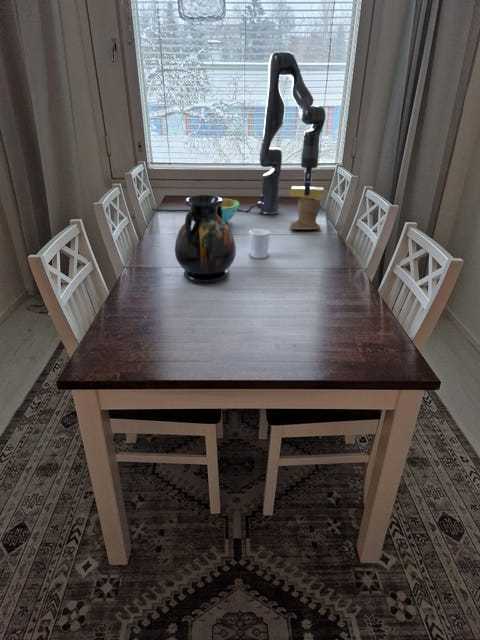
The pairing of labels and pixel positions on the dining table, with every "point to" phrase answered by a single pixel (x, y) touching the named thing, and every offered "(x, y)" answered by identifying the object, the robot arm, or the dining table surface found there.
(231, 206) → the bowl
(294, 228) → the stone cup
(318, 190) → the packet
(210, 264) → the amphora vase
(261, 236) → the white cup
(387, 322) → the dining table surface
